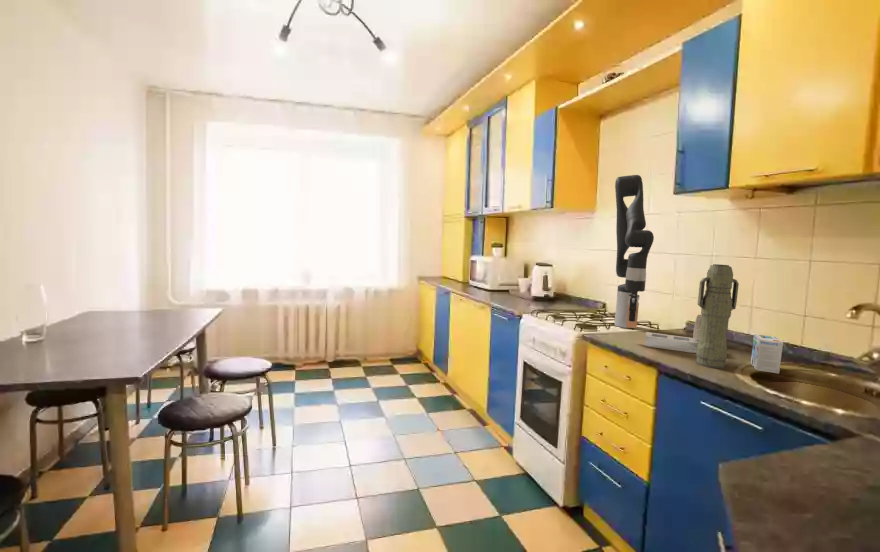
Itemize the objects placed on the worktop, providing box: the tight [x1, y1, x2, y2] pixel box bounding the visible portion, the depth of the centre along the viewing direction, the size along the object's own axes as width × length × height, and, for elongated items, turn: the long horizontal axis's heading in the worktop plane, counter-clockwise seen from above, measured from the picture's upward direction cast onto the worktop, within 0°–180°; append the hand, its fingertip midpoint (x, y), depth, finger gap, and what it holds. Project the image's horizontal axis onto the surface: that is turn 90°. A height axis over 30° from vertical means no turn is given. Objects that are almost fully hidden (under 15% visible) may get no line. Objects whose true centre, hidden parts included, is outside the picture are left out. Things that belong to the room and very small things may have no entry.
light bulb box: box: [750, 334, 784, 374], centre depth 153 cm, size 11×7×11 cm, turn 154°
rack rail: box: [644, 331, 700, 354], centre depth 176 cm, size 10×26×4 cm, turn 64°
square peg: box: [626, 302, 640, 329], centre depth 182 cm, size 4×4×10 cm
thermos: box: [695, 263, 739, 369], centre depth 153 cm, size 9×12×35 cm
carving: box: [692, 314, 702, 339], centre depth 188 cm, size 6×8×12 cm
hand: (632, 320), depth 182 cm, fingers closed on square peg, 4 cm apart
